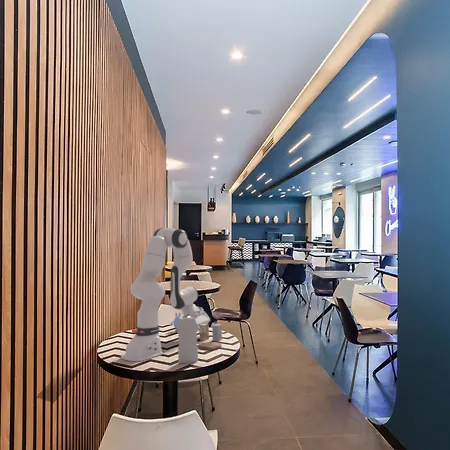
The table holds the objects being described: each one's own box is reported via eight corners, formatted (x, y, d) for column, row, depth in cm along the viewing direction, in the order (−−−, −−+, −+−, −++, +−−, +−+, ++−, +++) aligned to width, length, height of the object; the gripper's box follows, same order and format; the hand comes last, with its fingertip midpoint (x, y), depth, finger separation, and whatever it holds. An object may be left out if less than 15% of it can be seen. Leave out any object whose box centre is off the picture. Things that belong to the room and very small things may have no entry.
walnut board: (213, 351, 208) (213, 349, 208) (193, 348, 215) (193, 346, 215) (225, 345, 219) (225, 343, 219) (206, 342, 226) (206, 340, 226)
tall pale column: (197, 359, 195) (196, 315, 195) (199, 362, 191) (198, 317, 191) (177, 362, 192) (176, 317, 192) (178, 364, 188) (177, 319, 188)
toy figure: (185, 329, 260) (184, 311, 260) (187, 331, 254) (186, 312, 254) (169, 330, 257) (169, 312, 257) (170, 332, 251) (170, 314, 251)
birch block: (205, 340, 231) (204, 325, 231) (199, 339, 233) (199, 324, 233) (208, 338, 234) (208, 323, 234) (203, 337, 236) (203, 323, 236)
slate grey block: (218, 341, 228) (217, 325, 228) (212, 340, 230) (212, 325, 231) (221, 339, 232) (221, 324, 232) (216, 338, 234) (215, 323, 234)
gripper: (184, 313, 229) (198, 331, 223) (203, 307, 246) (216, 324, 241) (178, 320, 231) (191, 338, 225) (198, 313, 248) (211, 330, 243)
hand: (205, 331), depth 233 cm, fingers closed on birch block, 4 cm apart
